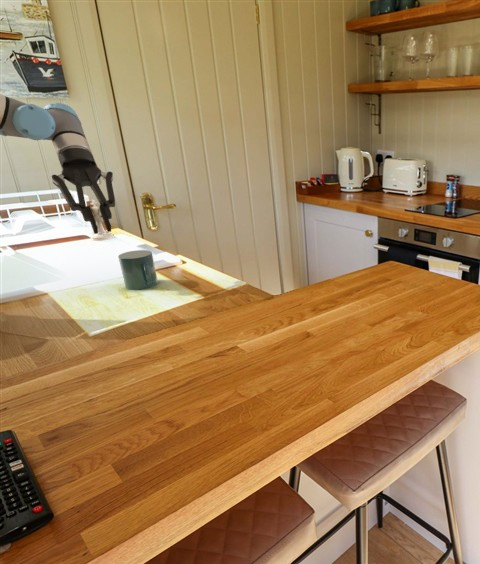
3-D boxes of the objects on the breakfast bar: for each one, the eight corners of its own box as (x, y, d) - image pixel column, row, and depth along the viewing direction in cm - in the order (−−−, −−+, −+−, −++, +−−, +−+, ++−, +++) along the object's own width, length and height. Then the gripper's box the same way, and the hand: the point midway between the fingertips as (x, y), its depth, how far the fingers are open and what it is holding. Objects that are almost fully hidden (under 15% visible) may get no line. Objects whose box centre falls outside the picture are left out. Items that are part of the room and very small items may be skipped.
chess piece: (86, 239, 108) (76, 200, 105) (103, 235, 113) (93, 197, 109) (102, 241, 107) (92, 202, 104) (118, 236, 112) (109, 198, 108)
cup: (120, 285, 119) (113, 254, 116) (150, 277, 125) (144, 248, 122) (136, 294, 113) (129, 262, 110) (166, 285, 119) (160, 255, 116)
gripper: (109, 163, 119) (136, 232, 114) (40, 167, 110) (66, 242, 104) (108, 145, 114) (137, 216, 108) (36, 147, 104) (63, 225, 99)
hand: (102, 229), depth 106 cm, fingers closed on chess piece, 2 cm apart
